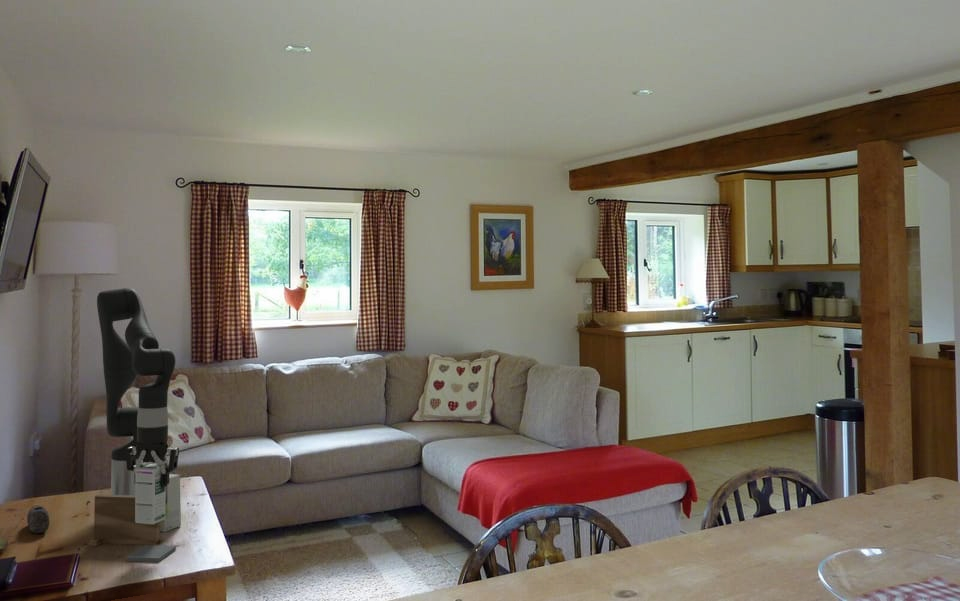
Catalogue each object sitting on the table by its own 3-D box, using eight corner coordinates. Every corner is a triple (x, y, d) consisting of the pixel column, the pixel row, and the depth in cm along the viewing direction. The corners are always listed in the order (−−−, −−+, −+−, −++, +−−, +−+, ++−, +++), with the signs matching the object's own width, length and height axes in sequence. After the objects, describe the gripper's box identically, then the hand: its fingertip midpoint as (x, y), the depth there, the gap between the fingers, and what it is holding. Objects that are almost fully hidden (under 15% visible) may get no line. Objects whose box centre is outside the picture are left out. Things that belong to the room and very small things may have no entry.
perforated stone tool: (25, 524, 212) (25, 501, 212) (45, 521, 216) (46, 498, 216) (28, 538, 200) (28, 513, 200) (50, 534, 203) (50, 510, 203)
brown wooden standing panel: (102, 538, 201) (103, 492, 201) (163, 540, 200) (164, 494, 200) (89, 545, 195) (90, 498, 195) (152, 547, 194) (153, 500, 194)
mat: (143, 548, 193) (143, 545, 193) (175, 549, 192) (175, 546, 192) (125, 560, 184) (125, 557, 184) (158, 562, 183) (158, 558, 183)
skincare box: (181, 526, 212) (182, 474, 212) (163, 533, 206) (163, 479, 206) (161, 522, 215) (162, 471, 215) (142, 528, 209) (143, 476, 209)
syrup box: (153, 525, 185) (155, 469, 185) (133, 523, 186) (135, 468, 186) (167, 518, 190) (168, 464, 190) (148, 516, 192) (149, 463, 192)
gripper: (185, 422, 192) (184, 484, 192) (134, 420, 192) (133, 482, 192) (171, 427, 184) (170, 491, 184) (118, 425, 185) (117, 489, 185)
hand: (151, 486), depth 188 cm, fingers closed on syrup box, 6 cm apart
